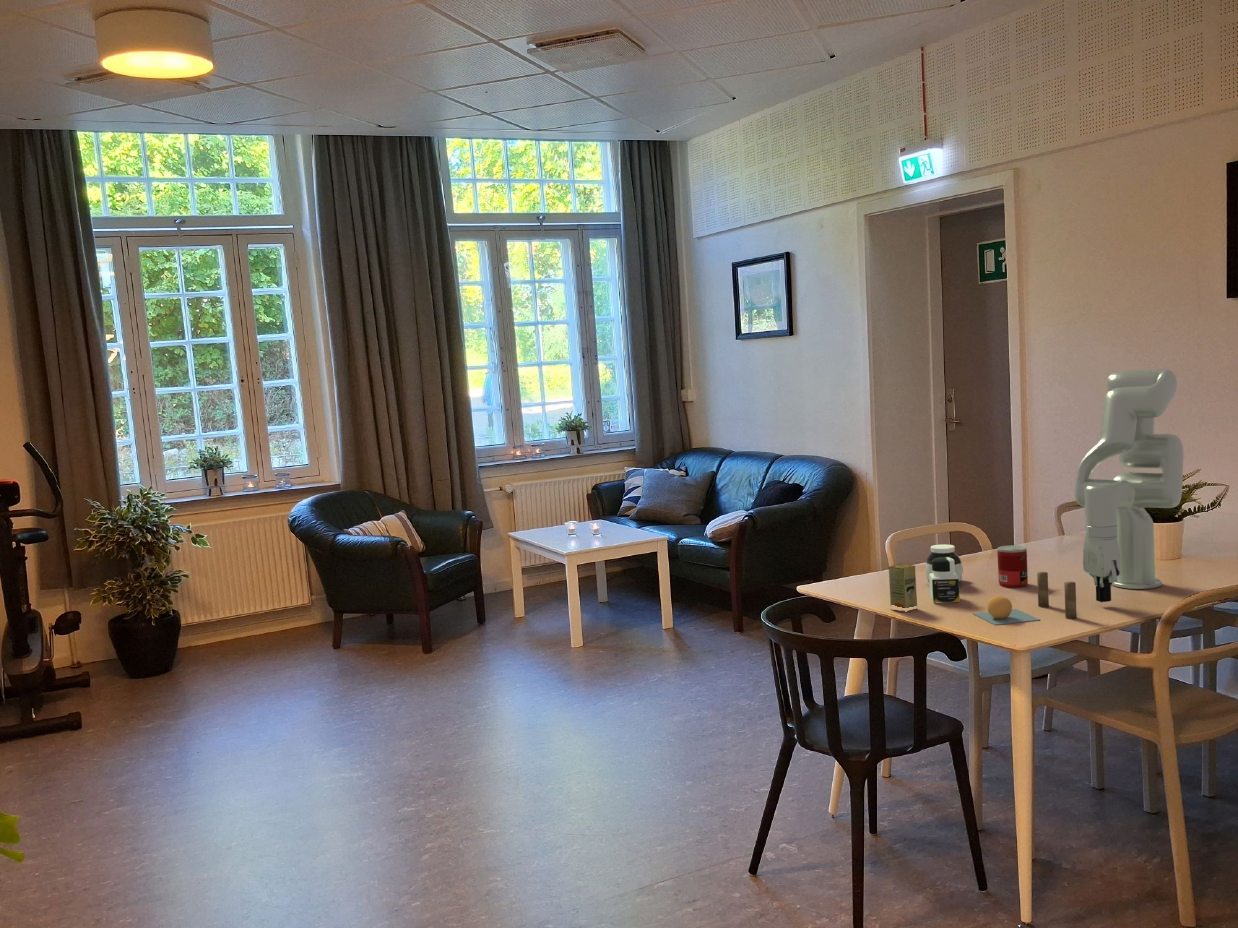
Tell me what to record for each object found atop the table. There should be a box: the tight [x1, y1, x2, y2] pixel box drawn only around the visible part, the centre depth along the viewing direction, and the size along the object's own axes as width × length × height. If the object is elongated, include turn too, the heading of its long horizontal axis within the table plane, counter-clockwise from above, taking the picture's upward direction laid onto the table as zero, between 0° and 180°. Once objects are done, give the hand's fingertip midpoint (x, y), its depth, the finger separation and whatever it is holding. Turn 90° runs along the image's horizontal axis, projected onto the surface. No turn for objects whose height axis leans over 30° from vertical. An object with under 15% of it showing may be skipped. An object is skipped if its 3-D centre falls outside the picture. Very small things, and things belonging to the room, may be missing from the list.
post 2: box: [1063, 581, 1078, 620], centre depth 257 cm, size 3×3×9 cm
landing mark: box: [972, 608, 1041, 626], centre depth 262 cm, size 12×12×1 cm
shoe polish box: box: [888, 563, 918, 608], centre depth 277 cm, size 5×5×12 cm
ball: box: [986, 595, 1013, 619], centre depth 261 cm, size 6×6×6 cm
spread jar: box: [925, 543, 964, 584], centre depth 304 cm, size 12×11×12 cm
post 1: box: [1036, 571, 1050, 608], centre depth 270 cm, size 3×3×9 cm
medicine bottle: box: [929, 557, 961, 603], centre depth 284 cm, size 7×7×12 cm
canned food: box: [997, 544, 1029, 589], centre depth 296 cm, size 8×8×11 cm
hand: (1103, 600), depth 265 cm, fingers closed
